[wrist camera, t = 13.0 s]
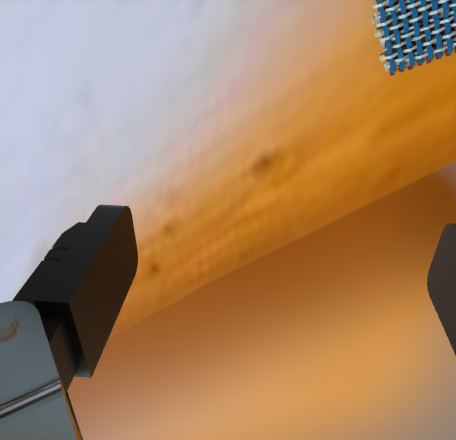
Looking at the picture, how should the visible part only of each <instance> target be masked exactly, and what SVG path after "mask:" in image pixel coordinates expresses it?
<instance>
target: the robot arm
mask: <svg viewBox="0 0 456 440" xmlns="http://www.w3.org/2000/svg"><path fill="white" fill-rule="evenodd" d="M137 265H138V251H137V245H136V239H135V232H134V226H133V220H132V214H131V210H130V208H129V207H128V206H116V205H99V206H97V208H96V209H95V210H94V212H93V213H92V215H91V216H90V218H89V219H88V221H87V222H86V223H82V222H78V223H77V224H75V225H74V226H72V227H71V228H69V229H68V230H67V231H65V232H64V233H62V234H61V236H60V237H59V238H58V240H57V241H56V243H55V244H54V245H53V247H52V249H50V251H49V252H48V253H47V255H46V256H45V257H44V261H41V263H40V264H39V265H38V267H37V268H36V269H35V271H34V272H33V273H32V275H31V276H30V277H29V279H28V280H27V281H26V283H25V284H24V285H23V287H22V288H21V289H20V291H19V292H18V293H17V295H16V296H15V298H14V299H13V300H12V301H8V302H3V303H0V440H83V437H82V434H81V431H80V428H79V425H78V422H77V419H76V415H75V412H74V410H73V406H72V403H71V400H70V397H69V394H68V391H67V390H68V388H69V386H70V384H71V382H72V379H73V377H74V376H76V377H89V378H91V377H92V375H93V373H94V370H95V368H96V366H97V363H98V361H99V359H100V356H101V354H102V352H103V349H104V347H105V345H106V342H107V340H108V338H109V335H110V333H111V331H112V328H113V326H114V324H115V321H116V319H117V317H118V314H119V312H120V310H121V307H122V305H123V303H124V300H125V298H126V296H127V293H128V291H129V289H130V286H131V284H132V282H133V279H134V277H135V274H136V271H137ZM427 286H428V292H429V296H430V298H431V300H432V303H433V305H434V307H435V309H436V312H437V314H438V316H439V319H440V321H441V323H442V325H443V328H444V330H445V332H446V334H447V337H448V339H449V341H450V344H451V346H452V348H453V350H454V353H455V355H456V224H453V223H450V224H447V225H446V226H445V228H444V230H443V232H442V235H441V237H440V240H439V243H438V246H437V249H436V252H435V254H434V257H433V260H432V263H431V266H430V269H429V272H428V278H427Z"/></svg>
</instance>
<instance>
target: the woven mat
mask: <svg viewBox="0 0 456 440" xmlns="http://www.w3.org/2000/svg"><path fill="white" fill-rule="evenodd" d="M447 1H448V2H447ZM396 2H398V4H397V5H396V6H394V3H396ZM428 4H429V5H428ZM437 4H438V5H437ZM426 5H427V6H426ZM373 7H374V9H378V12H377V13H375V14H374V15H375V16H374V17H372V22H373V24H376V23H378V22H380V24H377V27H380V26H381V28H380V29H376V30H375V34H374V35H375V36H376V37H381V36H382V38H381V39H380V42H381V47H383V46H385V48H384V49H383V52H385V51H386V52H385V53H383V52H382V53H383V54H382V55H381V56H379V58H380V61H383V62H385V61H386V60H388V62H387V63H385V64H384V66H385V70H386V71H389V70H390V75H391V76H392V75H395V74H394V73H395V69H396V68H399V72H403V71H404V69H405V66H407V67H408V70H411V69H413V67H412V66H414V63H416V62H417V63H418V66H420V65H422V63H424V58H426V60H427V64H428V63H430V62H431V60H432V59H433V55H435V56H436V59H440V58H441V57H442V56H443V52H444V51H445V53H446V56H449V55H451V53H452V49H453V48H455V52H456V0H450V1H449V0H438V1H436V0H417V1H415V0H406V1H404V0H376V1H375V2H374V3H373ZM384 7H387V8H388V9H385V10H384ZM428 8H430V9H428ZM449 10H451V11H449ZM407 11H409V12H408V13H406V12H407ZM417 12H419V13H417ZM399 14H400V16H396V15H399ZM409 15H410V16H409ZM438 15H439V16H438ZM407 16H409V17H407ZM428 17H431V18H430V19H428ZM389 18H390V20H388V21H386V19H389ZM439 18H440V19H439ZM398 19H400V20H399V21H397V20H398ZM420 20H421V21H420ZM418 21H420V22H418ZM390 22H391V24H389V23H390ZM428 22H429V23H428ZM451 22H452V24H450V23H451ZM387 24H388V25H387ZM409 24H411V26H410V27H408V25H409ZM420 25H421V26H420ZM440 26H442V27H441V28H439V27H440ZM401 27H402V30H400V31H398V29H399V28H401ZM451 27H452V28H451ZM409 30H411V31H409ZM430 30H432V31H430ZM442 30H443V31H442ZM391 32H392V33H393V34H391V35H390V36H389V33H391ZM431 34H432V36H431ZM420 35H421V36H420ZM451 36H453V37H454V38H452V39H451ZM421 38H422V39H421ZM443 39H444V42H442V40H443ZM401 40H404V41H403V42H401V43H400V41H401ZM411 41H413V42H411ZM392 43H394V44H395V45H391V44H392ZM404 44H405V45H404ZM431 44H433V46H434V47H432V46H431ZM402 45H403V46H402ZM422 46H425V49H423V50H422ZM392 48H395V49H393V50H392ZM414 49H415V52H414V53H412V50H414ZM403 53H405V56H404V57H403ZM395 56H397V59H395V60H393V57H395Z"/></svg>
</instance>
